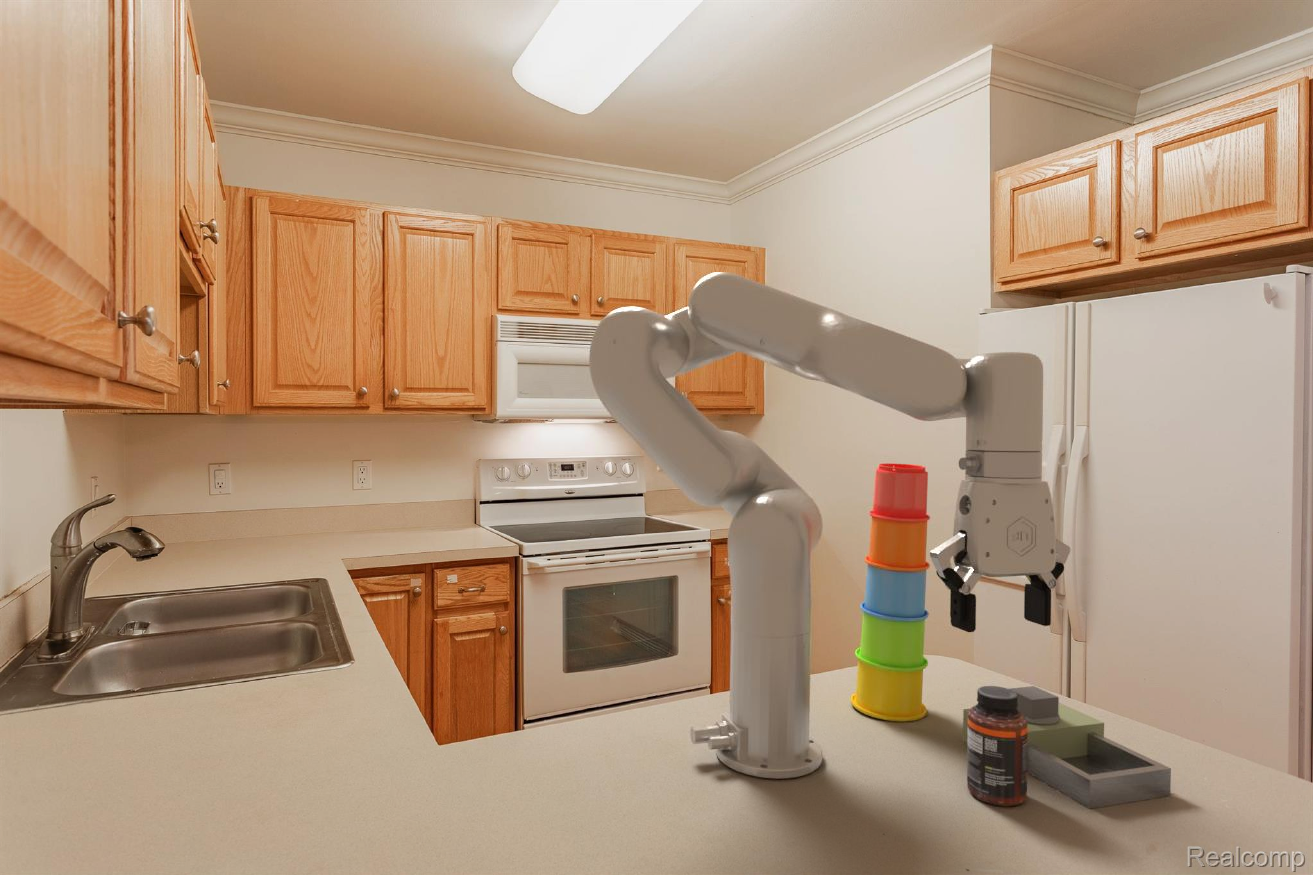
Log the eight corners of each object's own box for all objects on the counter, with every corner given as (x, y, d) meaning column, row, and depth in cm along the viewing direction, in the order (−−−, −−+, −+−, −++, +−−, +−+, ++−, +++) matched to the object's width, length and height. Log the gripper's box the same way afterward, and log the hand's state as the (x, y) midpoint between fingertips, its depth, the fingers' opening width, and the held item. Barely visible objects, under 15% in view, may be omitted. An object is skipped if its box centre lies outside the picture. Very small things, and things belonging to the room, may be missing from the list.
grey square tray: (1089, 808, 79) (1090, 780, 79) (1019, 766, 89) (1019, 741, 89) (1170, 795, 82) (1170, 768, 82) (1093, 756, 92) (1094, 732, 92)
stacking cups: (918, 697, 111) (923, 462, 110) (933, 725, 101) (939, 466, 100) (847, 693, 113) (851, 461, 112) (854, 719, 102) (859, 464, 102)
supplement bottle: (1014, 783, 85) (1016, 683, 84) (1035, 810, 79) (1038, 702, 78) (959, 780, 85) (961, 680, 85) (976, 807, 79) (978, 699, 79)
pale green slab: (1008, 768, 88) (1009, 709, 88) (962, 740, 96) (963, 686, 96) (1103, 755, 92) (1104, 699, 92) (1052, 729, 100) (1053, 677, 100)
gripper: (958, 470, 75) (956, 641, 76) (1095, 469, 80) (1093, 629, 81) (912, 466, 83) (910, 622, 83) (1041, 465, 87) (1039, 612, 88)
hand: (1000, 625), depth 82 cm, fingers open, 9 cm apart
